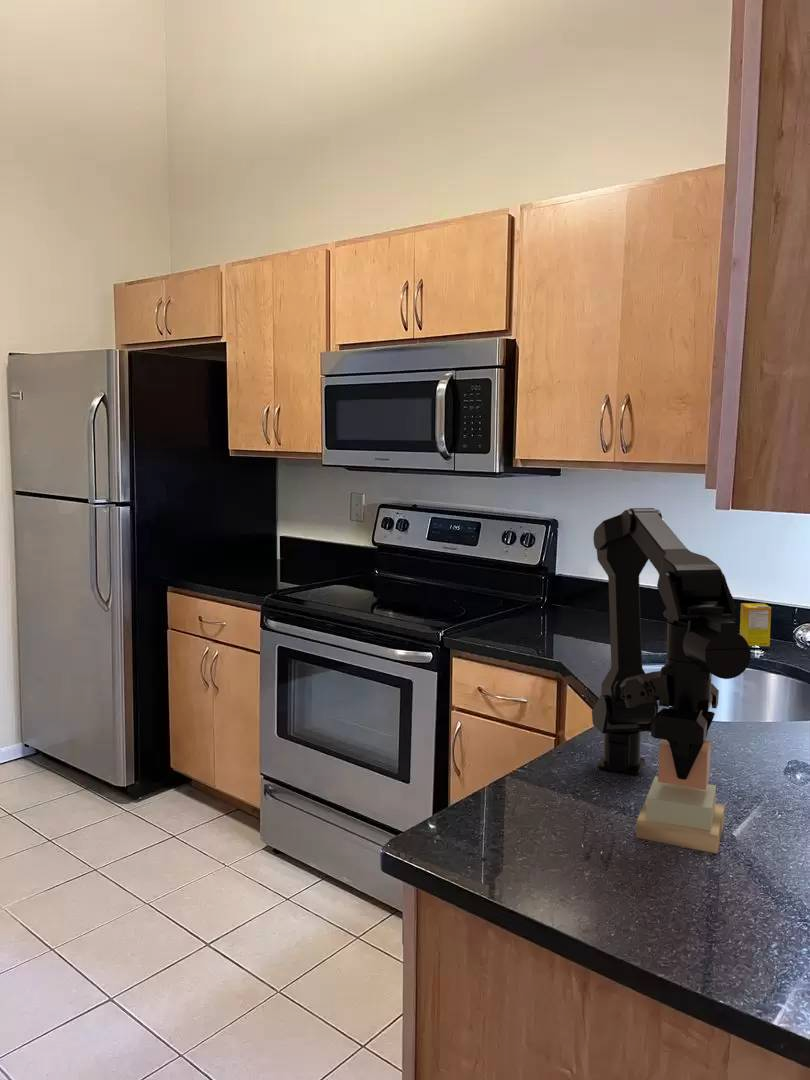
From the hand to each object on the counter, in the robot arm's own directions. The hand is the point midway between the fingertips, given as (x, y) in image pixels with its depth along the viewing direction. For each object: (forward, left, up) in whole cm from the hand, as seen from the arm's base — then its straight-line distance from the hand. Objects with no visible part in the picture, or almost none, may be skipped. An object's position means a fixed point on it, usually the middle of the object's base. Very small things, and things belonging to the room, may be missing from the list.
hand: (684, 772), depth 109 cm
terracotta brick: (0, 0, -1) cm, 1 cm away
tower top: (0, 0, -6) cm, 6 cm away
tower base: (0, 0, -9) cm, 9 cm away
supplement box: (-115, +2, -8) cm, 115 cm away
